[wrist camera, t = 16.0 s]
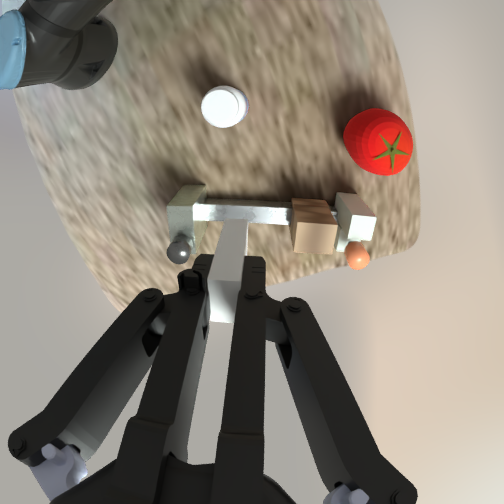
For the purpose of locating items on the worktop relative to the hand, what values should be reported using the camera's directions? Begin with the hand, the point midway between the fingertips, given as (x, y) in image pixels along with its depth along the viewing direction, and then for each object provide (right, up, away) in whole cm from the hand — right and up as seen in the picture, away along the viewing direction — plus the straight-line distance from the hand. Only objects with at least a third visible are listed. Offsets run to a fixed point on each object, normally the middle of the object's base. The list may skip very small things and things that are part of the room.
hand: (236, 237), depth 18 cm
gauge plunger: (+17, 0, +25) cm, 31 cm away
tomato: (+20, +19, +22) cm, 36 cm away
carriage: (+11, +6, +30) cm, 33 cm away
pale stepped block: (+18, +6, +30) cm, 35 cm away
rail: (+2, +7, +30) cm, 31 cm away
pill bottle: (-2, +23, +21) cm, 31 cm away
